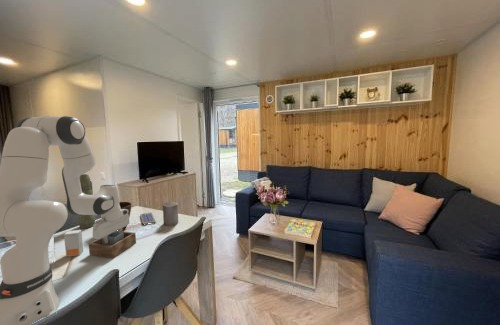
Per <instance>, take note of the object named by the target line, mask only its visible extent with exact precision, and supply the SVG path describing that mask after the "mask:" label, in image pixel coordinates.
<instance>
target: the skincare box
mask: <svg viewBox="0 0 500 325" xmlns="http://www.w3.org/2000/svg"><path fill="white" fill-rule="evenodd" d="M82 230H83V229H75V230H68V231H66V232H65V233H64V234H63V237H64V248H65V256H68V257H75V256H81V255H82V254H83V253H84V243H83V233H82Z"/></svg>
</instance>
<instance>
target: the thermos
mask: <svg viewBox="0 0 500 325" xmlns="http://www.w3.org/2000/svg"><path fill="white" fill-rule="evenodd" d="M79 179H80V184H81V189H82V192H83V193H84V194H86V195H94V190H93V182H92V181H91V178H90V176H89V174H87V173H84V174H82V175H80V178H79ZM77 220H78V221H77V222H78V225H79V230H86V229H91V228H93V224H94V223H95V222H96V215H78V218H77Z"/></svg>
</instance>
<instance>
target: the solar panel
mask: <svg viewBox="0 0 500 325" xmlns="http://www.w3.org/2000/svg"><path fill="white" fill-rule="evenodd" d="M140 220H141V223H143V224H148V223H154V224H156V222H157V221H156V220H155V217H154V215H153V212H144V213H141V214H140ZM143 224H142V225H143Z"/></svg>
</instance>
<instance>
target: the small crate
mask: <svg viewBox="0 0 500 325" xmlns="http://www.w3.org/2000/svg"><path fill="white" fill-rule="evenodd" d="M107 239H110V242H109V243H107V244H105V241H104V239H103V238H102V244H103V245H111V246H112V245H113V244H115V243H117V242H119V241H120V240H122V239H124V233H120V232H113V233H111V234H109V235H108V237H107Z"/></svg>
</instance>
